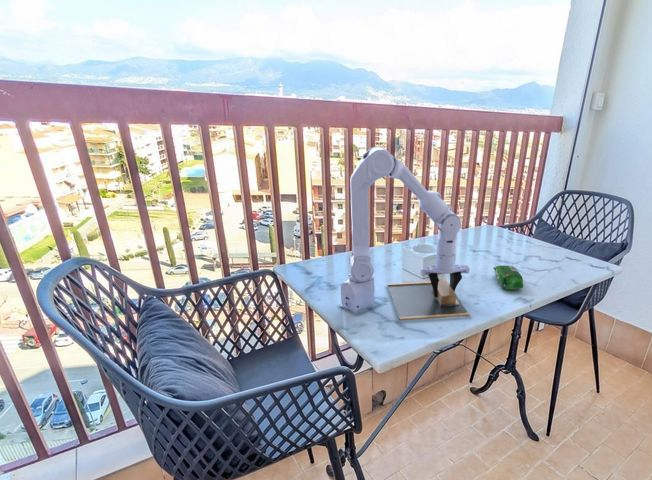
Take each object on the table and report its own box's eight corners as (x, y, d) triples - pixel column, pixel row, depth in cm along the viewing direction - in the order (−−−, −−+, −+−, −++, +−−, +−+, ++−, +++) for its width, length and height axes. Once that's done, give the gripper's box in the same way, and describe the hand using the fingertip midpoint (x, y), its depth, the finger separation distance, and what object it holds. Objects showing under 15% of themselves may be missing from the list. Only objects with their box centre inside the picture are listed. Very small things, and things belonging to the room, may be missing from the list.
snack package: (511, 275, 143) (513, 261, 140) (524, 293, 129) (526, 278, 126) (491, 275, 142) (493, 261, 140) (502, 293, 129) (504, 278, 126)
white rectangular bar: (455, 305, 118) (455, 303, 118) (450, 298, 122) (450, 296, 122) (459, 305, 118) (459, 303, 118) (454, 298, 123) (454, 296, 122)
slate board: (399, 322, 110) (399, 318, 109) (387, 287, 131) (387, 283, 131) (469, 318, 113) (469, 314, 112) (446, 284, 134) (446, 280, 134)
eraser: (440, 306, 117) (441, 296, 115) (431, 290, 127) (431, 280, 126) (455, 305, 118) (456, 295, 116) (445, 289, 128) (445, 279, 126)
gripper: (465, 248, 120) (462, 289, 127) (419, 249, 118) (417, 291, 124) (473, 255, 114) (469, 298, 121) (424, 257, 112) (422, 301, 118)
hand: (443, 295), depth 122 cm, fingers closed on eraser, 4 cm apart
